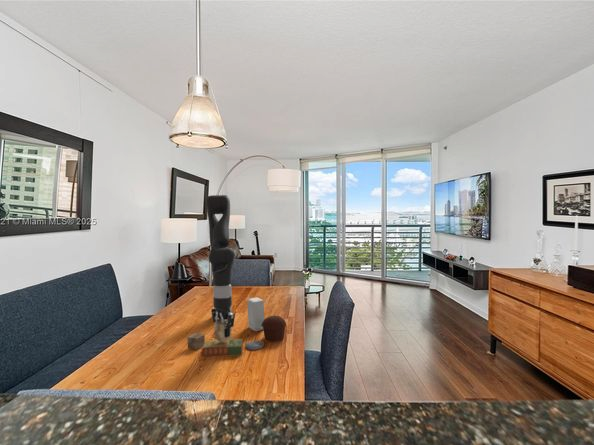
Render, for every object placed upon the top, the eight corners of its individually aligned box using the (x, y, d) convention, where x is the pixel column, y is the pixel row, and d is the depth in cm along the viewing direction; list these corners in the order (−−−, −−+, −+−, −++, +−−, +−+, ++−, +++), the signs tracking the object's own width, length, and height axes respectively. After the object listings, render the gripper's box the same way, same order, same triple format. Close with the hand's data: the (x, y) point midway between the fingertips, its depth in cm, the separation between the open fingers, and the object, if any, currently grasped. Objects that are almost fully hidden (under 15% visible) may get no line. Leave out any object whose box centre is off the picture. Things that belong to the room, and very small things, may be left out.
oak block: (214, 338, 131) (214, 322, 131) (224, 335, 135) (224, 319, 135) (221, 341, 128) (221, 324, 128) (231, 338, 132) (231, 321, 132)
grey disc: (241, 346, 136) (241, 344, 136) (255, 341, 142) (255, 339, 142) (253, 351, 131) (253, 350, 131) (267, 345, 137) (267, 344, 137)
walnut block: (187, 348, 135) (187, 337, 135) (195, 344, 140) (195, 333, 140) (197, 350, 133) (196, 338, 133) (204, 345, 138) (204, 334, 138)
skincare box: (265, 329, 157) (264, 300, 156) (254, 332, 153) (253, 302, 153) (257, 324, 164) (257, 296, 163) (247, 327, 160) (246, 298, 160)
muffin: (284, 332, 152) (284, 312, 152) (288, 341, 142) (288, 319, 141) (260, 334, 150) (259, 314, 150) (262, 344, 139) (262, 321, 139)
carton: (205, 349, 135) (205, 339, 135) (243, 347, 137) (243, 337, 136) (201, 358, 127) (201, 347, 126) (241, 356, 128) (241, 345, 128)
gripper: (205, 294, 133) (205, 333, 133) (225, 300, 124) (225, 342, 124) (220, 290, 139) (220, 328, 139) (240, 296, 129) (240, 336, 130)
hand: (223, 335), depth 132 cm, fingers closed on oak block, 5 cm apart
